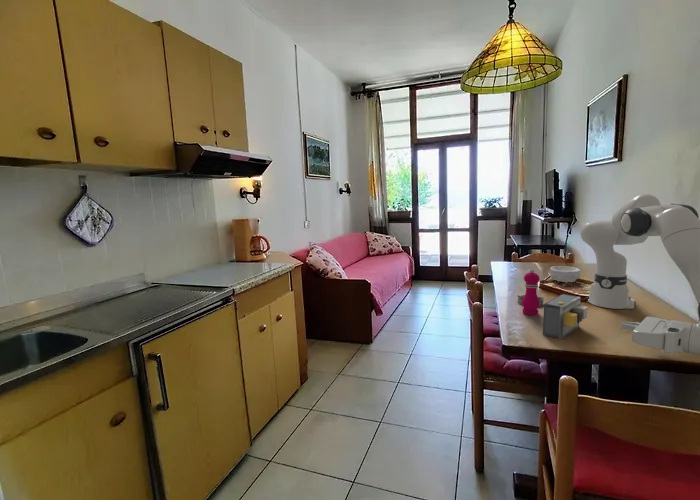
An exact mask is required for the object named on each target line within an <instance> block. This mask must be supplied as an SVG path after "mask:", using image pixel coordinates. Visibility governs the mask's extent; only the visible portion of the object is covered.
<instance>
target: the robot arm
mask: <svg viewBox="0 0 700 500" xmlns="http://www.w3.org/2000/svg"><path fill="white" fill-rule="evenodd" d="M699 218H700V217H699V212H698V211H697V210H696V208H695V207H693V206H692V205H689V204H688V205H687V204H683V203H669V204H661V201H660V200H659V198H657V197H656V196H654V195H652V194H649V193H648V194H647V193H646V194H645V193H644V194H643V193H641V194H639V195H637V196H635V197H633V198H631V199H629V200H628V201H627V202H625V203H624V204H623V205H621V207H620V208H619V209H617V211H616V212H614V214H612V217H611V220H596V221H595V220H594V221H590V222H585V223H584V225H583V226H582V228H581V229H580V238H581V239H582V242H584V243H585V244H586V245H588V246H589V247H590V248H591V249H592V250H593V253H594V255H595V258H596V259H595V261H596V265H595V267H596V269H595V270H596V271H595V274H594V277H593V278H594V282H592V283H591V284H590V287H589V295H588V297H589V299H588V301H587V303H590V304H591V305H593V306H597V307H601V308H606V309H614V310H615V309H618V310H619V309H621V310H622V309H624V310H625V309H633V310H634V309H635V299H634V298H632V296H630V288H629V286H628V275H627V266H628V260H627V258H626V256H624V255H623V254H621V253H619V252H617V251H615V250H614V246H631V245H638V244H642V243H644V242H646V241H647V239H648V238H649V237H658V236H659V237H660V240H661V243H662V245H663V247H664V249H665V251H666V252H667V254H668V255H669V257H670V259H671V260H672V262H674V264H675V265H676V266H677V268H678V269H679V271H680V272H681V273H682V274H683V276H684V277H685V279H686V280H687V282H688V284H689V286H690V288H691V291H692V293H693V295H694V298H695V300H696V301H697V308H696V312H697V317H698V323H692V322H687V321H680V320H675V319H674V320H673V319H672V320H669V319H664V318H662V317H661V318H660V317H656V316H646V317H645V318H643V320H642V321H641V322H637V321H635V322H632V321H622V323H620V329H622V330H626V331H627V332H631V342H633V343H635V344H637V345H640V346H644V347H647V348H652V349H656V350H663V352H664V353H667V354H677V353H686V354H694V355H695V354H697V355H700V219H699Z"/></svg>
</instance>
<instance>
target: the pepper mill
mask: <svg viewBox="0 0 700 500" xmlns="http://www.w3.org/2000/svg"><path fill="white" fill-rule="evenodd" d="M523 280H524V282H525V283H524V284H525V285H524V287H525V289H526V290H525V294H524V295H525V296H524V297H523V299H522V304H521V306H522V314H524V315H527V316H533V317H535V316H538V315H539V307H541V306H540V302H539V299H538V297H539V296H538V295H537V288H538V287H539V284H538V283H539V282H540V276H539V274H537V273H536V272H535V269H533V268H531V269H529V272H527V273H525V275H524V276H523Z"/></svg>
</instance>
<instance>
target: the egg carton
mask: <svg viewBox="0 0 700 500" xmlns="http://www.w3.org/2000/svg"><path fill="white" fill-rule="evenodd" d="M524 296H525V294H523V295H517V303H518V304H520V305H522V299H523V297H524ZM537 297H538V299H539V302H540V307H541V306H544V300H545V296H544V297H540V296H537Z"/></svg>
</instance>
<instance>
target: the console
mask: <svg viewBox="0 0 700 500" xmlns="http://www.w3.org/2000/svg"><path fill="white" fill-rule="evenodd" d="M581 300H582V298H581V296H578V295H577V296H576V295H570V294H564V293H562V294H560V295H558V296H557V297H554V298H552V299H551V300H549V301H547V302H545V303H543V322H542V335H543V336H548V337H551V338H556V339H558V340H563V339H564V338H566V337H567V336H568V335H570V334H571V333H573V332H574V331H575V330H576V329H577V328H579V327H580V323H577V325H575V326H574V327H571V326H566V325H564V314H565V313H566V312H570V310H571V309H572V308H573V309H575V307H576V306H577V305H579V306H581Z"/></svg>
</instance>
